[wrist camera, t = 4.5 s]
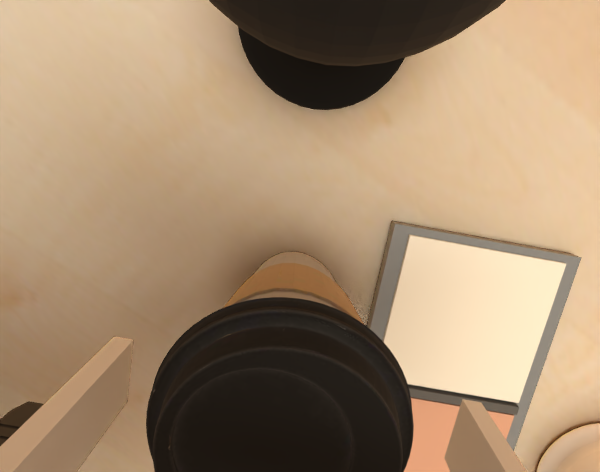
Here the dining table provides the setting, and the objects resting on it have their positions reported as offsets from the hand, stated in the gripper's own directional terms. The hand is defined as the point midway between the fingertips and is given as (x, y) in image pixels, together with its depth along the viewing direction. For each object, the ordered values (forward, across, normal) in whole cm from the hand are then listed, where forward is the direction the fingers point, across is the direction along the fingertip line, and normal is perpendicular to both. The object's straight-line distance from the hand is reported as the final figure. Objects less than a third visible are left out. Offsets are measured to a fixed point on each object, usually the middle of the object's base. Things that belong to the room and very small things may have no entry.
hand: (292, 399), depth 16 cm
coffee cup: (+12, -1, 0) cm, 12 cm away
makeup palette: (+12, +11, -5) cm, 17 cm away
